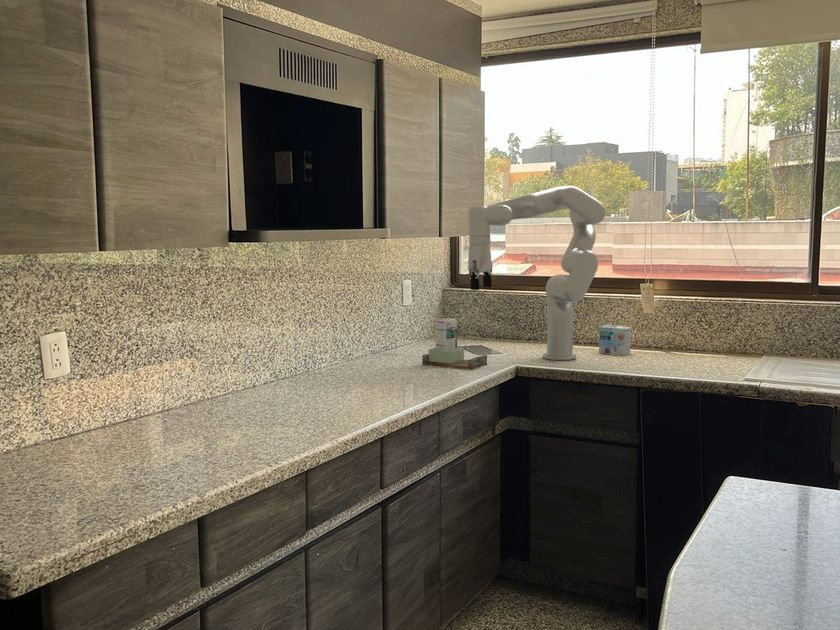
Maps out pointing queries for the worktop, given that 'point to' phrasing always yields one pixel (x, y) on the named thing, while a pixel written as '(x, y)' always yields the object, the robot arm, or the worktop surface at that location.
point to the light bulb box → (615, 339)
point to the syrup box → (446, 334)
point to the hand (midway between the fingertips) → (481, 288)
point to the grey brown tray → (462, 364)
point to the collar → (446, 355)
